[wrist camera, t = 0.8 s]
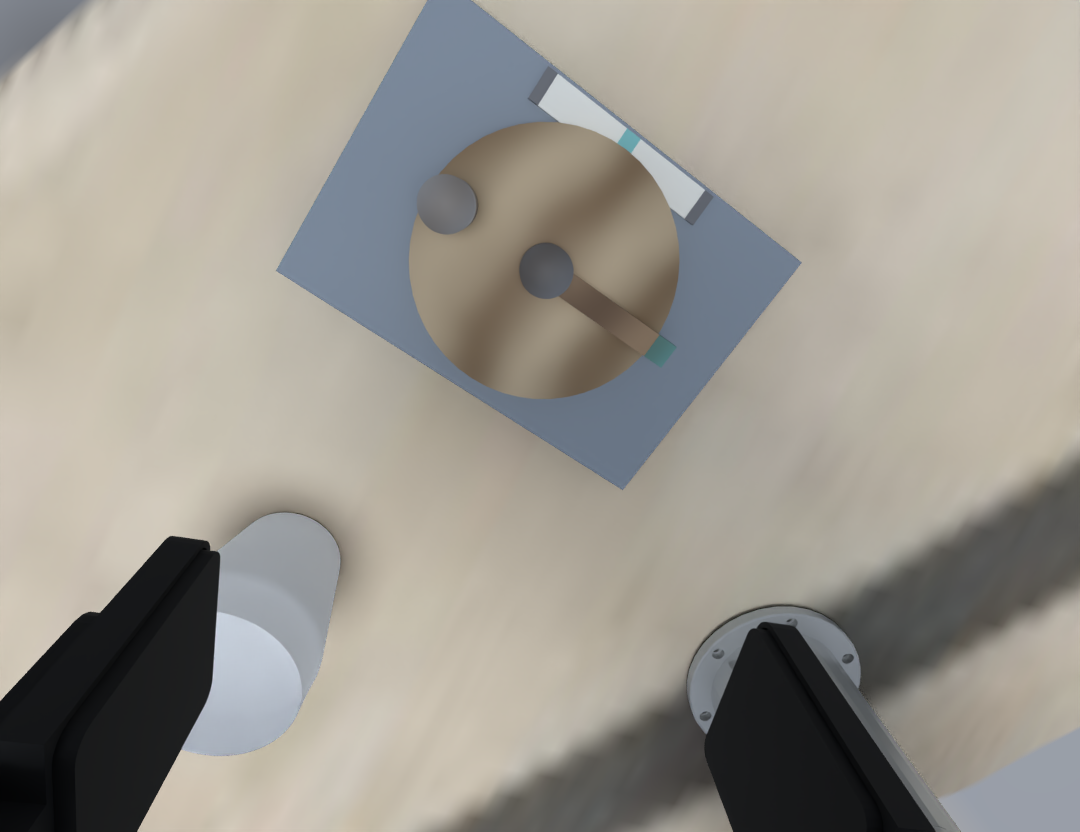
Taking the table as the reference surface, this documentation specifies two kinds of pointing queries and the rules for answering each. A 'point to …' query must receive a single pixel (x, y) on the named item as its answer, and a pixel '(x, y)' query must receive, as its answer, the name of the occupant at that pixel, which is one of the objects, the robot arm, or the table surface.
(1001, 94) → the table surface
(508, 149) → the crank wheel
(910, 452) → the table surface
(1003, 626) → the table surface
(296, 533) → the cup
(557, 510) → the table surface
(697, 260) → the blue-grey base board
